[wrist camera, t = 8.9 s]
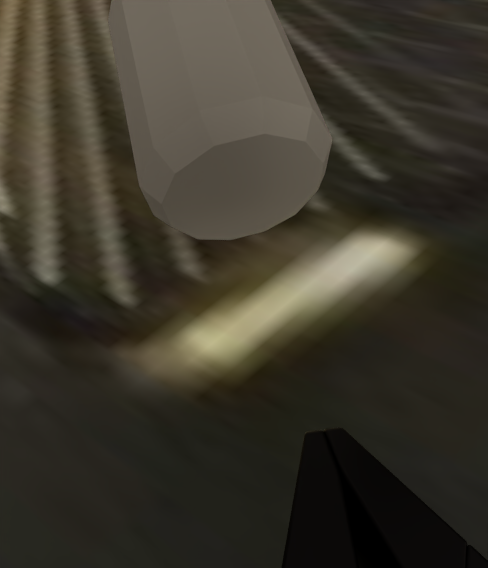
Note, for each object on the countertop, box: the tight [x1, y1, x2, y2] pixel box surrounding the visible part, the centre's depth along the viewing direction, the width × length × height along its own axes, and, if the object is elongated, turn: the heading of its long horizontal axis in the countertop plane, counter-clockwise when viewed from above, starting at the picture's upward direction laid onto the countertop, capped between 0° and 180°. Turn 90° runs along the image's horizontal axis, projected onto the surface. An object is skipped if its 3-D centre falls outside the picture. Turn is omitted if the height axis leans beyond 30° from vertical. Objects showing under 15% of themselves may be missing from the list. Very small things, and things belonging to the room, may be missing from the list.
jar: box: [108, 0, 333, 240], centre depth 22 cm, size 10×10×18 cm
